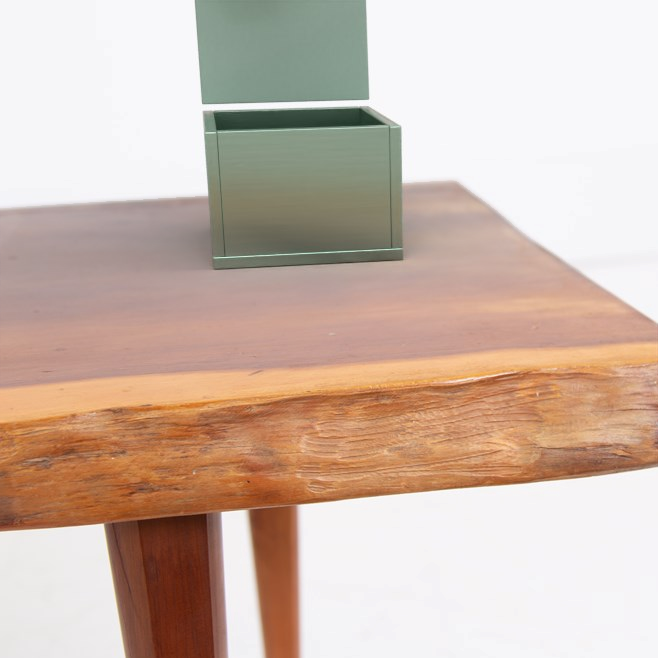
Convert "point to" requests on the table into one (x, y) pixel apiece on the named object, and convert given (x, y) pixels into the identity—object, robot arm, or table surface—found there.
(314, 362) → the table surface
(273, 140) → the box
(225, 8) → the lid
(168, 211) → the table surface
